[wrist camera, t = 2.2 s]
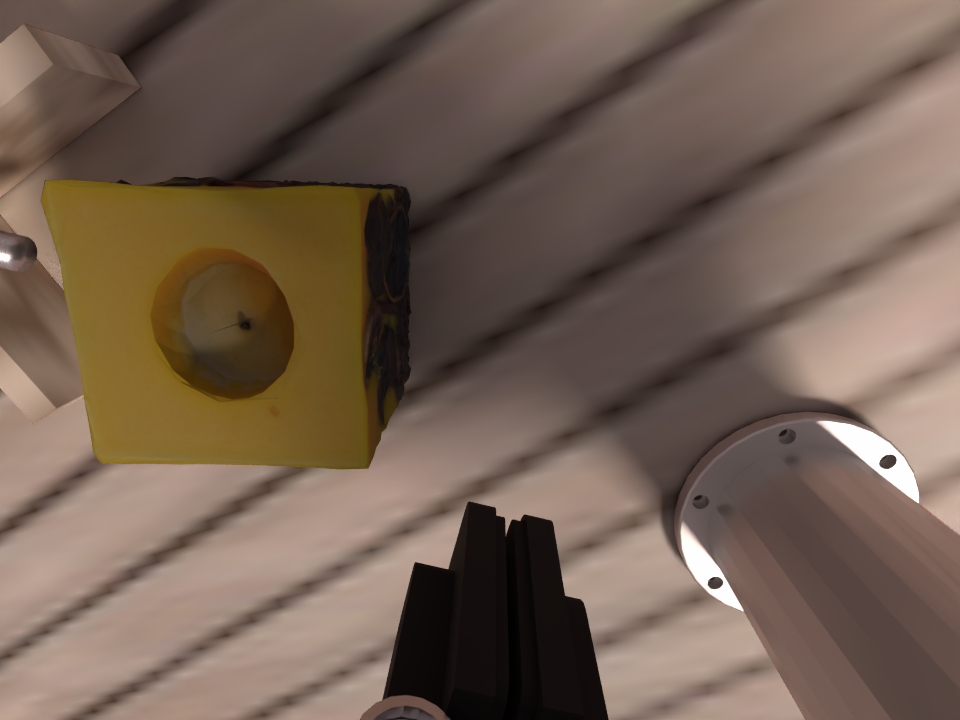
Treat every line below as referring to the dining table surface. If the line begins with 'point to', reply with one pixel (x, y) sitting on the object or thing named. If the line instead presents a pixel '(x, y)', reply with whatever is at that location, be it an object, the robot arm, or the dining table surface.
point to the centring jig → (11, 158)
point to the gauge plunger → (16, 252)
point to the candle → (236, 317)
